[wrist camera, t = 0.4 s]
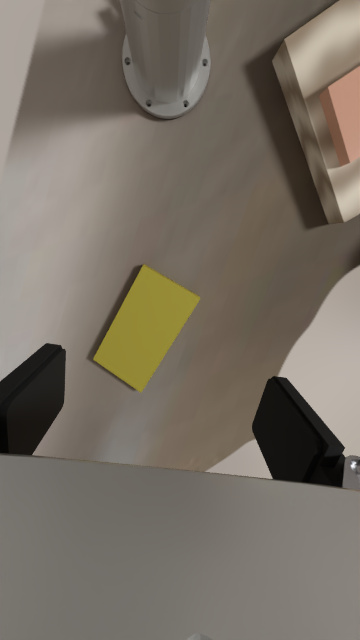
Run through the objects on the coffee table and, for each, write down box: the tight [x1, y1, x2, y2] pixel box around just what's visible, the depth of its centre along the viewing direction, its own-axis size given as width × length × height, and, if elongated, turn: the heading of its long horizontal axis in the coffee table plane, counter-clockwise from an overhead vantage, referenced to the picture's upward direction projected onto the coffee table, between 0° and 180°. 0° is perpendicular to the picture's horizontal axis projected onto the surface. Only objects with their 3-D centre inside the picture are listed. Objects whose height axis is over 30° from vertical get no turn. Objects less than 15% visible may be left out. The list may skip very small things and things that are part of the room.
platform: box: [272, 0, 360, 224], centre depth 36 cm, size 26×16×4 cm, turn 31°
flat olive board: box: [93, 264, 200, 393], centre depth 47 cm, size 12×2×24 cm
